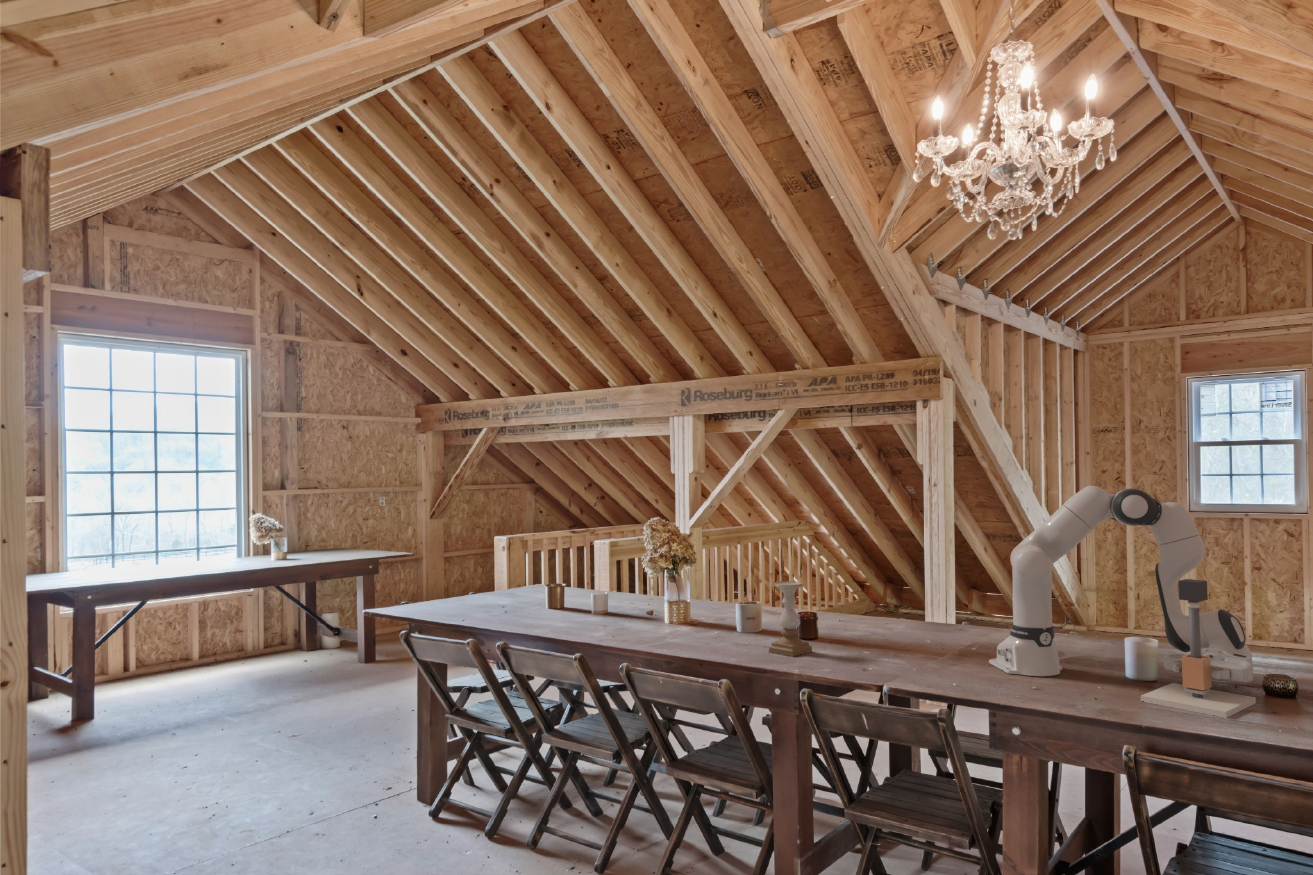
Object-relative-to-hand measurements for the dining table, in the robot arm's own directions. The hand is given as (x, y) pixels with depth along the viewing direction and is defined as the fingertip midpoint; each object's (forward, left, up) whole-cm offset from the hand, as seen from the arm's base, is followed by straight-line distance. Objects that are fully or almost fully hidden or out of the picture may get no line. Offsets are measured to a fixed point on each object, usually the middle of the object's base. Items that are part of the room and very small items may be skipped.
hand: (1195, 672), depth 224 cm
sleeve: (0, 0, -4) cm, 4 cm away
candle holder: (-89, -80, -8) cm, 120 cm away
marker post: (0, 0, -8) cm, 8 cm away
